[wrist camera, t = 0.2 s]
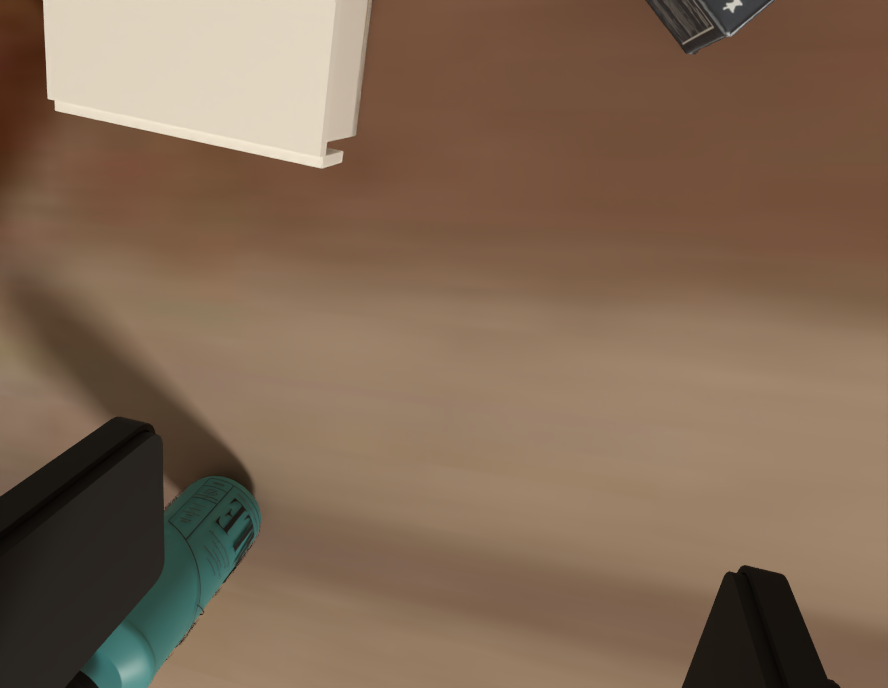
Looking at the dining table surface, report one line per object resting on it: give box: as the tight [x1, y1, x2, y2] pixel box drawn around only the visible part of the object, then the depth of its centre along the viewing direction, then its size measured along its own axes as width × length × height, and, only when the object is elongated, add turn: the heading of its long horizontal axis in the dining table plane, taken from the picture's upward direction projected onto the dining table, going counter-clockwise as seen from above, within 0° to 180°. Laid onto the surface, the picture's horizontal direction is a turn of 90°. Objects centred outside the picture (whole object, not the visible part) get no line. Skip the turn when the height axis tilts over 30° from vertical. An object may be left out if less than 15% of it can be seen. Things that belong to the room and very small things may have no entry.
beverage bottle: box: [65, 476, 261, 688], centre depth 42 cm, size 6×7×20 cm
